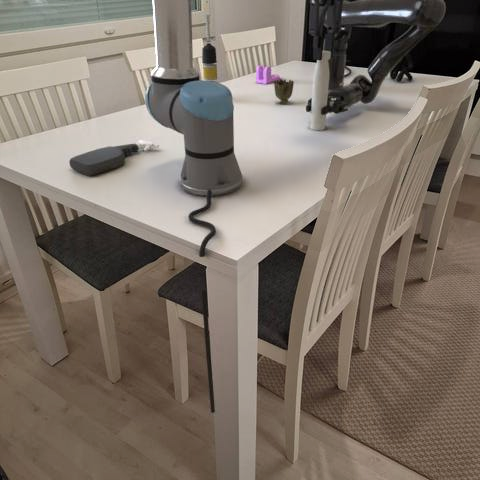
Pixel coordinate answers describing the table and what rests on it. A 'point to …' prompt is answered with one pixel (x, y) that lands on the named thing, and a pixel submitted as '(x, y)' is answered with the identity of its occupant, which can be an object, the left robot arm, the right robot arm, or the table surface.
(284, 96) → the cup
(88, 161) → the spray bottle
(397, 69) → the squiggle
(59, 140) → the table surface
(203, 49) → the yellow black flask
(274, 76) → the bracket
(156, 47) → the left robot arm
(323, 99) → the bottle
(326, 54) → the cap
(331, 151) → the table surface
